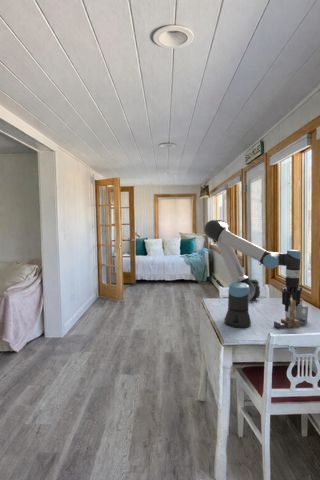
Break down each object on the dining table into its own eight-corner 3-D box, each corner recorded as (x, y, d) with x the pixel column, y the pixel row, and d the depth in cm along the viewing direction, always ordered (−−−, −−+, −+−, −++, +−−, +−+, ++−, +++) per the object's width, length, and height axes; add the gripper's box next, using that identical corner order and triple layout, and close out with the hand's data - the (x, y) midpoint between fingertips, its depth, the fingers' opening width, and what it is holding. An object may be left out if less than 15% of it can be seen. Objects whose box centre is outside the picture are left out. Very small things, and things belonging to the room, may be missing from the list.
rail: (278, 328, 177) (279, 323, 176) (273, 326, 180) (274, 320, 180) (305, 325, 184) (306, 319, 184) (300, 323, 188) (300, 317, 187)
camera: (260, 301, 235) (260, 282, 234) (245, 300, 237) (246, 281, 236) (258, 298, 245) (259, 279, 244) (244, 297, 247) (245, 278, 246)
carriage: (288, 327, 178) (289, 301, 177) (280, 324, 183) (282, 298, 182) (299, 326, 181) (300, 300, 180) (291, 322, 186) (292, 297, 185)
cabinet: (298, 321, 190) (299, 307, 189) (288, 318, 197) (289, 304, 196) (307, 320, 192) (308, 306, 192) (297, 317, 199) (298, 303, 199)
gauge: (298, 310, 191) (299, 300, 191) (293, 308, 195) (293, 298, 195) (304, 309, 193) (304, 299, 193) (298, 307, 197) (299, 297, 197)
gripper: (285, 278, 174) (283, 319, 175) (308, 277, 180) (306, 317, 181) (276, 276, 181) (274, 315, 182) (298, 275, 187) (296, 313, 188)
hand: (290, 316), depth 182 cm, fingers closed on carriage, 4 cm apart
